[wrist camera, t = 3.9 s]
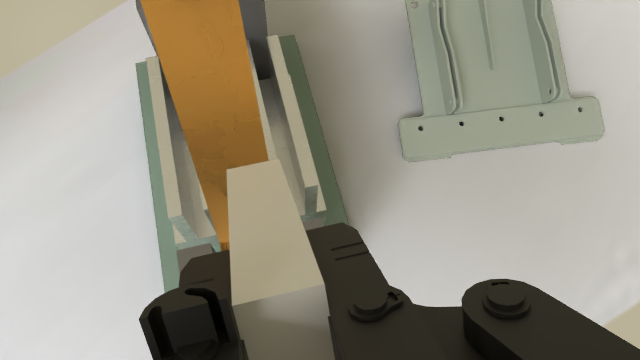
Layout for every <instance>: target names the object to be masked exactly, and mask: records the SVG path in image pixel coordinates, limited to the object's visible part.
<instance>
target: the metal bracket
mask: <svg viewBox="0 0 640 360" xmlns="http://www.w3.org/2000/svg"><path fill="white" fill-rule="evenodd" d="M405 2H406V8H407V14H408V20H409V27H410V33H411V39H412V45H413V51H414V57H415V63H416V70H417V76H418V82H419V88H420V94H421V100H422V107H423V115H422V116H420V117H412V118H403V119H401V120H399V122H398V127H399V134H400V140H401V146H402V153H403V158H404V159H405V161H408V162H415V161H424V160H432V159H441V158H450V157H451V156H452V155H453V154H460V153H468V152H476V151H485V150H493V149H501V148H509V147H517V146H525V145H533V144H541V143H549V142H559V143H561V144H562V145H563V144H571V143H580V142H589V141H597V140H598V139H600V138H601V137H602V136H603V133H604V126H603V121H602V116H601V111H600V106H599V101H598V100H597V99H596V98H594V97H583V98H572V97H571V96H570V94H569V89H568V84H567V79H566V74H565V69H564V64H563V59H562V54H561V49H560V44H559V39H558V34H557V29H556V24H555V19H554V13H553V8H552V3H551V0H405ZM413 2H414V3H416V4H417V8H413V7H411V3H413ZM578 108H581V112H579V111H578ZM539 112H541V113H542V114H543V116H542V117H541V116H539ZM500 117H502V118H503V121H500V120H499V118H500ZM459 122H463V126H460V125H459ZM419 126H421V127H422V128H423V130H422V131H420V130H419V129H418V127H419Z"/></svg>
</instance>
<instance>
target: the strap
mask: <svg viewBox="0 0 640 360" xmlns="http://www.w3.org/2000/svg"><path fill="white" fill-rule="evenodd" d="M140 1H141V4H142V7H143V10H144V13H145V16H146V19H147V22H148V25H149V29H150V32H151V35H152V38H153V41H154V44H155V47H156V50H157V53H158V56H159V59H160V62H161V65H162V68H163V72H164V75H165V78H166V81H167V84H168V87H169V90H170V93H171V96H172V99H173V102H174V105H175V108H176V111H177V114H178V118H179V121H180V124H181V127H182V130H183V133H184V136H185V139H186V142H187V145H188V148H189V151H190V154H191V157H192V161H193V164H194V167H195V170H196V173H197V176H198V179H199V182H200V185H201V188H202V191H203V194H204V197H205V200H206V204H207V207H208V210H209V213H210V216H211V219H212V222H213V225H214V228H215V231H216V234H217V237H218V240H219V243H220V248H221V251H225V250H229V249H230V245H229V221H228V196H227V172H226V170H227V169H232V168H237V167H242V166H246V165H251V164H256V163H261V162H266V161H269V159H268V154H267V149H266V143H265V138H264V133H263V128H262V122H261V117H260V112H259V107H258V101H257V96H256V91H255V85H254V80H253V75H252V70H251V64H250V59H249V54H248V49H247V43H246V38H245V33H244V28H243V22H242V17H241V12H240V6H239V1H238V0H140Z"/></svg>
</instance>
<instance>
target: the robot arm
mask: <svg viewBox="0 0 640 360" xmlns="http://www.w3.org/2000/svg"><path fill="white" fill-rule="evenodd" d="M226 172H227V196H228V221H229V245H230V249H229V250H225V251H220V252H216V253H211V254H207V255H203V256H198V257H194V258H191V259H190V260H189V262H188V263H187V264H186V266H185V267H184V268H183V269H182V271H181V272H180V279H179V287H178V288H175V289H172V290H170V291H168V292H166V293H164V294H163V295H161V296H159V297H157V298H156V299H155V300H153V301H152V302H151V303H150V304H149V305H148V306H147V307H146V308H145V309H144V311H143V313H142V314H141V316H140V318H139V321H140V324H141V327H142V329H143V332H144V335H145V338H146V341H147V344H148V346H149V349H150V352H151V355H152V358H153V360H640V349H638V348H636V347H635V346H633V345H631V344H630V343H628V342H627V341H625V340H623V339H621V338H620V337H618V336H617V335H615V334H613V333H612V332H610V331H608V330H607V329H605V328H603V327H602V326H600V325H598V324H597V323H595V322H593V321H592V320H590V319H588V318H587V317H585V316H583V315H582V314H580V313H578V312H577V311H575V310H573V309H572V308H570V307H568V306H567V305H565V304H563V303H562V302H560V301H558V300H557V299H555V298H553V297H552V296H550V295H548V294H547V293H545V292H543V291H542V290H540V289H538V288H536V287H534V286H532V285H529V284H527V283H525V282H521V281H516V280H510V279H490V280H487V281H483V282H479V283H476V284H475V285H473V286H472V287H470V288H469V289H467V290H466V292H465V294H464V296H463V298H462V307H425V306H421V305H416V304H413V303H412V302H411V300H410V298H409V297H408V296H407V295H406V294H405V293H404V292H403V291H401V290H399V289H397V288H394V287H392V286H389V284H388V282H387V281H386V279H385V277H384V276H383V274H382V272H381V270H380V269H379V267H378V265H377V264H376V262H375V260H374V258H373V257H372V255H371V253H369V250H368V248H367V247H366V245H365V244H364V242H363V240H362V238H361V236H360V235H359V233H358V231H357V230H356V229H354V228H352V227H350V226H349V225H347V224H345V223H343V222H341V223H337V224H332V225H328V226H324V227H319V228H315V229H310V230H306V231H305V229H304V226H303V223H302V221H301V218H300V215H299V212H298V210H297V207H296V204H295V201H294V199H293V196H292V193H291V191H290V188H289V185H288V182H287V180H286V177H285V174H284V171H283V169H282V166H281V163H280V160H279V159H275V160H271V161H266V162H261V163H256V164H251V165H246V166H242V167H237V168H232V169H227V170H226Z"/></svg>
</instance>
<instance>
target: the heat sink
mask: <svg viewBox="0 0 640 360" xmlns="http://www.w3.org/2000/svg"><path fill="white" fill-rule="evenodd" d="M266 39H267V49H268V58H269V68H270V78H269V79H264V80H259V81H258V78H257V74H256V69H255V65H254V61H253V57H252V53H251V49H250V45H249V40H246V43H247V49H248V54H249V59H250V64H251V70H252V75H253V80H254V85H255V91H256V96H257V101H258V107H259V112H260V117H261V122H262V128H263V133H264V138H265V143H266V149H267V154H268V159H269V161H271V160H275V159H279V160H280V163H281V166H282V169H283V171H284V174H285V177H286V180H287V182H288V185H289V188H290V191H291V193H292V196H293V199H294V201H295V204H296V207H297V210H298V212H299V215H300V218H301V221H302V223H303V226H304V229H305V231H306V230H310V229H315V228H319V227H324V224H323V221H325V219H326V211H327V209H326V206H325V202H324V198H323V195H322V191H321V187H320V184H319V180H318V176H317V173H316V169H315V165H314V162H313V158H312V154H311V151H310V147H309V143H308V140H307V136H306V132H305V129H304V125H303V121H302V118H301V114H300V110H299V107H298V103H297V99H296V96H295V92H294V88H293V85H292V81H291V77H290V75H288V71H287V68H286V64H285V60H284V57H283V53H282V49H281V46H280V42H279V38H278V35H273V36H267V37H266ZM146 61H147V68H148V76H149V83H150V90H151V97H152V104H153V112H154V119H155V126H156V133H157V141H158V148H159V155H160V162H161V169H162V177H163V184H164V191H165V198H166V205H167V213H168V218H169V219H170V221H171V222H172V223H173V230H174V237H175V244H176V245H177V247H178V248H179V249H180V250H177V251H176V253H177V260H178V267H179V274H180V272H181V271H182V269H183V268H184V267H185V266H186V264H187V263H188V262H189V260H190V259H191V258H194V257H198V256H203V255H207V254H211V253H216V251H215V249H214V248H213V246H216V245H220V243H219V240H218V237H217V234H216V231H215V228H214V225H213V222H212V219H211V216H210V213H209V210H208V207H207V204H206V200H205V197H204V194H203V191H202V188H201V185H200V182H199V179H198V176H197V173H196V170H195V167H194V164H193V161H192V157H191V154H190V151H189V148H188V145H187V142H186V139H185V136H184V133H183V130H182V127H181V124H180V121H179V118H178V114H177V111H176V108H175V105H174V102H173V99H172V96H171V93H170V90H169V87H168V84H167V81H166V78H165V75H164V72H163V68H162V65H161V62H160V59H159V57H158V56H155V57H150V58H146Z"/></svg>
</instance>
